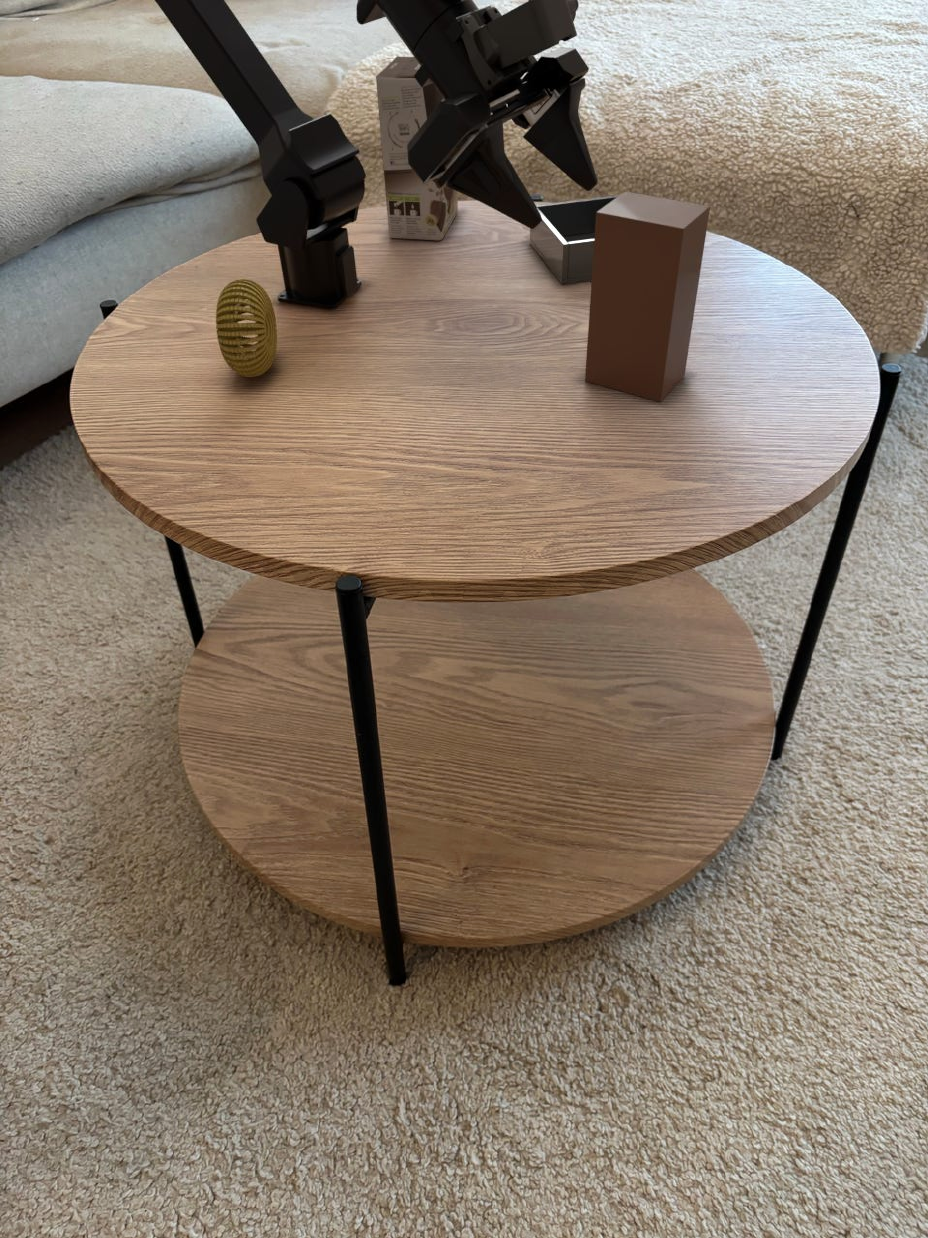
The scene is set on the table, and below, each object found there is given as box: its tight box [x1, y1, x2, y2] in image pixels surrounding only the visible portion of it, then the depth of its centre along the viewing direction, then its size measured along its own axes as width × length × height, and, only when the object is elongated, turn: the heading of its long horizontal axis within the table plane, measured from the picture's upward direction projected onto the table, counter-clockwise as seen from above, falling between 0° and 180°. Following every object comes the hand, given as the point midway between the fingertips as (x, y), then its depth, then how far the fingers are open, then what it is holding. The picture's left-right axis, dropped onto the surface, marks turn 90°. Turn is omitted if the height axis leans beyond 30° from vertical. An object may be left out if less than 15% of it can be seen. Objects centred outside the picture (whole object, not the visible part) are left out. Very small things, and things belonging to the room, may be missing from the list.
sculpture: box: [215, 278, 278, 378], centre depth 77 cm, size 8×4×8 cm, turn 179°
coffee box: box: [375, 56, 459, 242], centre depth 98 cm, size 9×6×16 cm
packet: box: [584, 191, 711, 403], centre depth 72 cm, size 7×5×14 cm
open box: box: [529, 194, 621, 285], centre depth 95 cm, size 11×11×4 cm
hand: (566, 205), depth 71 cm, fingers open, 9 cm apart
